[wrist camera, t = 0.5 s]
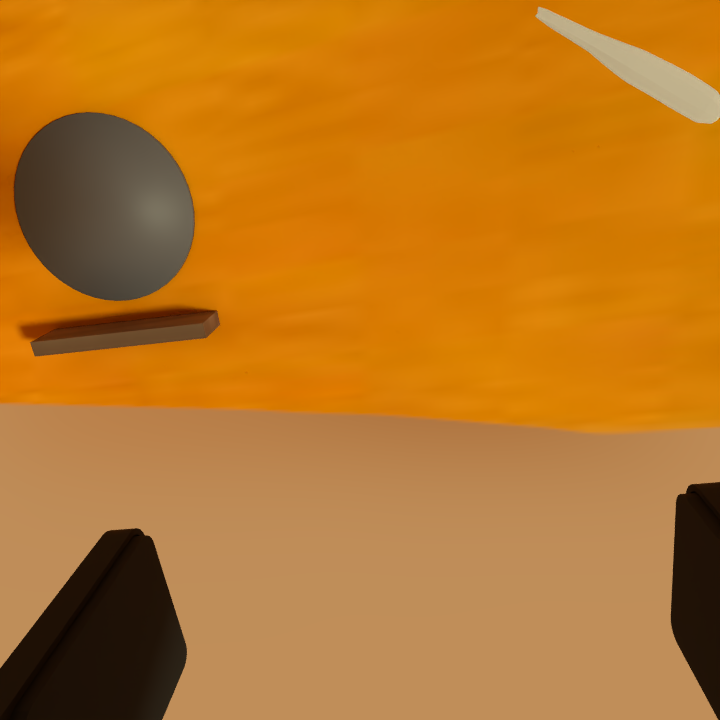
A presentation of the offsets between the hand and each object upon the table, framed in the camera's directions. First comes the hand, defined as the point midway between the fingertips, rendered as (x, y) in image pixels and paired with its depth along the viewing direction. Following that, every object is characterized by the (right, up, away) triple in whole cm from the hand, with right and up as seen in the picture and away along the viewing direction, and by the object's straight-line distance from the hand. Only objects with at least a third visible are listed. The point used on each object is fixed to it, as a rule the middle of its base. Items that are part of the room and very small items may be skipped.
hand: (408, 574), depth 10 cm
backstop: (-17, +6, +31) cm, 36 cm away
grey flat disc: (-18, +14, +28) cm, 36 cm away
